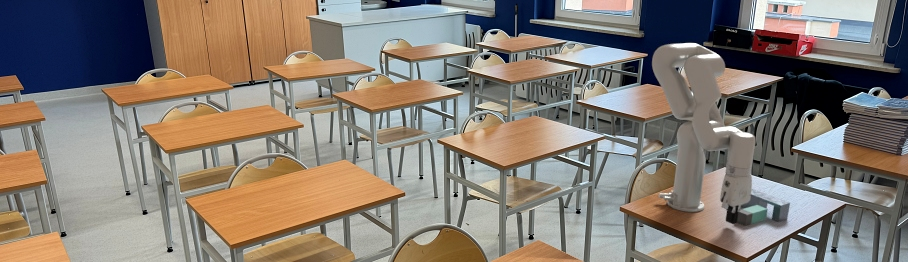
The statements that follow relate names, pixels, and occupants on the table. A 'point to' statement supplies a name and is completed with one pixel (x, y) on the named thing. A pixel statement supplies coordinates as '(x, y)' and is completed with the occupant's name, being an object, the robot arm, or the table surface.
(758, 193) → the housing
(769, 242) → the table surface
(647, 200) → the table surface
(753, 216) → the plug
